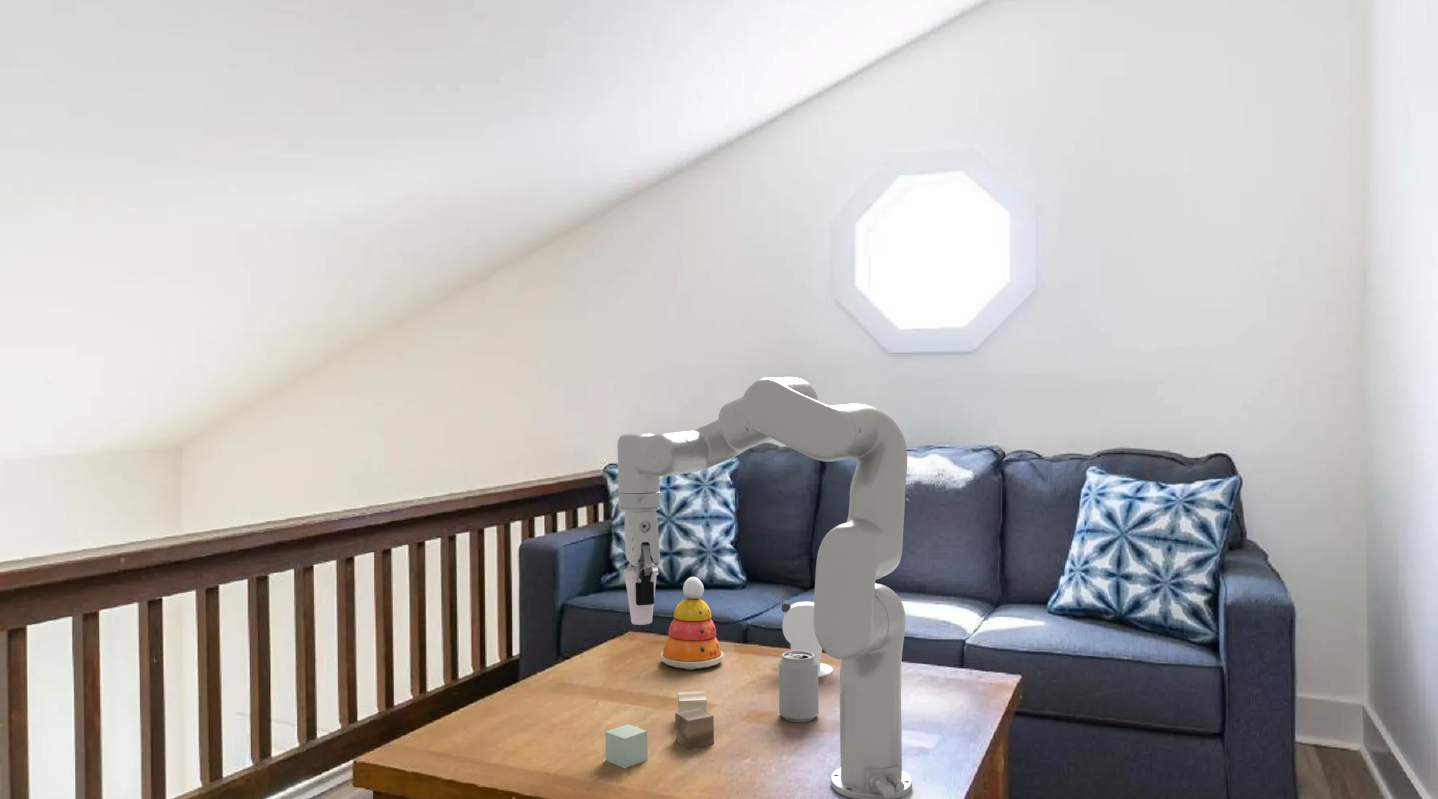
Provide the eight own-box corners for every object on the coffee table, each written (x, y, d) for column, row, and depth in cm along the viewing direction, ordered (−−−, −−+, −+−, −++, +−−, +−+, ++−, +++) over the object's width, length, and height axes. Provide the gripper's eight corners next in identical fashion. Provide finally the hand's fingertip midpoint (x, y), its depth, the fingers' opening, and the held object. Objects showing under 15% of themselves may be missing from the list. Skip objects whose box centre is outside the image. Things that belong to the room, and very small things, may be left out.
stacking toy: (688, 676, 218) (687, 586, 218) (647, 663, 229) (646, 577, 228) (736, 663, 228) (735, 577, 227) (695, 651, 238) (694, 569, 238)
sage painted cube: (647, 760, 171) (647, 730, 171) (624, 768, 167) (624, 738, 167) (628, 752, 174) (628, 724, 174) (605, 760, 171) (605, 731, 171)
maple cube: (706, 726, 187) (706, 699, 187) (679, 727, 187) (679, 700, 186) (704, 717, 192) (704, 691, 192) (678, 718, 192) (678, 692, 191)
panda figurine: (835, 663, 227) (834, 596, 226) (836, 678, 215) (835, 608, 215) (781, 662, 228) (780, 596, 228) (779, 677, 217) (778, 607, 216)
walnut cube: (713, 743, 178) (713, 715, 178) (688, 749, 176) (688, 720, 176) (700, 735, 182) (699, 707, 182) (675, 740, 180) (675, 712, 180)
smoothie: (617, 624, 182) (615, 546, 182) (636, 617, 188) (634, 541, 187) (647, 627, 179) (645, 548, 179) (666, 620, 185) (664, 543, 184)
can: (816, 724, 187) (815, 660, 187) (776, 722, 189) (775, 658, 188) (820, 711, 194) (820, 649, 194) (782, 709, 196) (781, 647, 196)
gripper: (669, 506, 175) (671, 609, 176) (650, 495, 192) (652, 590, 192) (627, 508, 174) (629, 612, 174) (611, 497, 190) (613, 592, 191)
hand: (641, 599), depth 183 cm, fingers closed on smoothie, 6 cm apart
